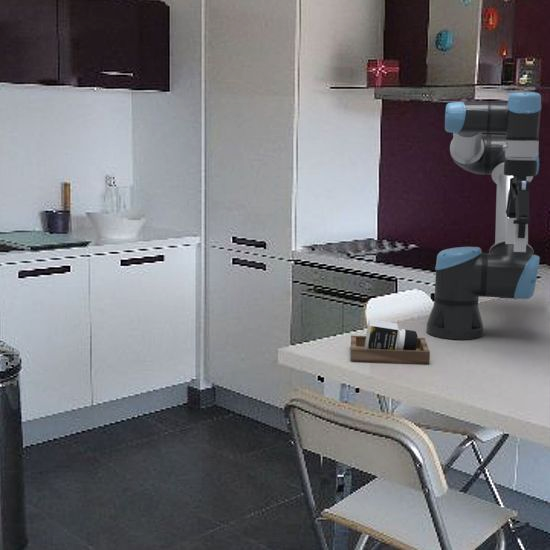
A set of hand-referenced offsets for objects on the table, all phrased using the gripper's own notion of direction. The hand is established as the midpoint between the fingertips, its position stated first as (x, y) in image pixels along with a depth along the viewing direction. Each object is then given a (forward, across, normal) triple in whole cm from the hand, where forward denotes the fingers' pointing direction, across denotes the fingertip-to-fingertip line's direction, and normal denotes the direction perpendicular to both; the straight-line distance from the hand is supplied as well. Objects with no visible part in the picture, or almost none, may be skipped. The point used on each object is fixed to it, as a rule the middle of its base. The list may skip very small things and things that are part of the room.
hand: (515, 247), depth 204 cm
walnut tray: (+27, +6, -29) cm, 40 cm away
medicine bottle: (+22, +8, -35) cm, 42 cm away
